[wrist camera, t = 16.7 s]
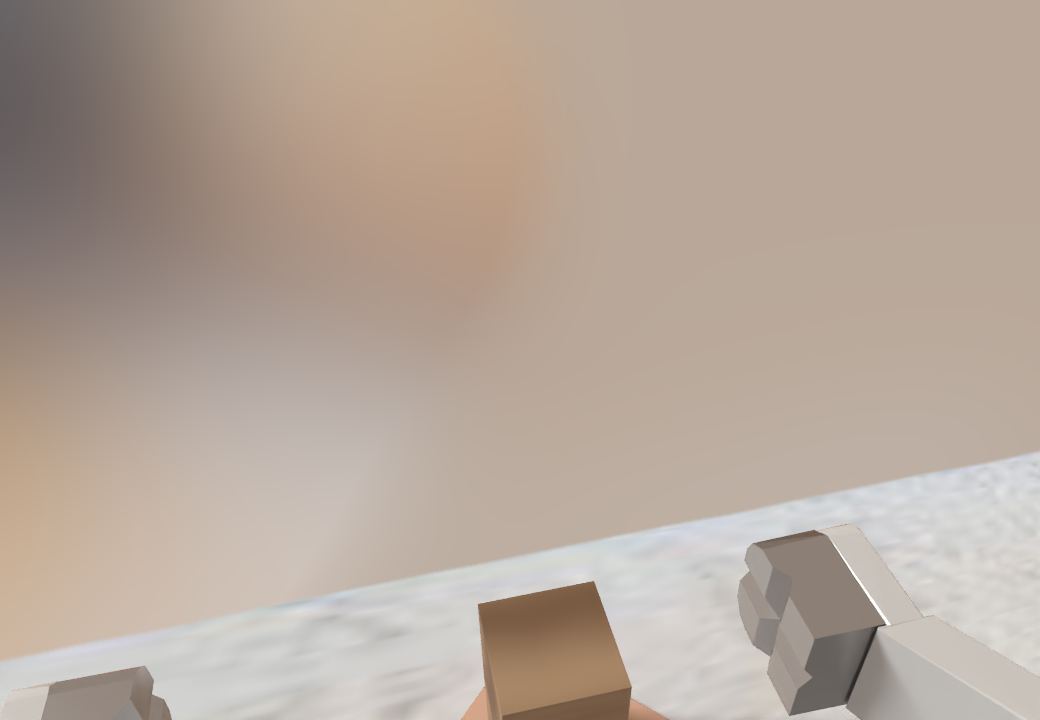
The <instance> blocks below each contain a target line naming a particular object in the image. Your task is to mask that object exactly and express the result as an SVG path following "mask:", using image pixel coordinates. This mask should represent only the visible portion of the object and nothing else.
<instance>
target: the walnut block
mask: <svg viewBox="0 0 1040 720" xmlns="http://www.w3.org/2000/svg"><path fill="white" fill-rule="evenodd" d="M478 610H479V622H480V633H481V645H482V656H483V667H484V679H485V690H486V702H487V713H488V720H628V716H629V707H630V698H631V689H632V687H631V684H630V681H629V678H628V675H627V673H626V670H625V667H624V664H623V661H622V659H621V656H620V653H619V650H618V647H617V644H616V642H615V639H614V636H613V633H612V630H611V628H610V625H609V622H608V619H607V616H606V614H605V611H604V608H603V605H602V602H601V600H600V597H599V594H598V591H597V588H596V585H595V583H594V581H592V582H587V583H582V584H577V585H572V586H567V587H562V588H557V589H552V590H547V591H542V592H537V593H532V594H527V595H522V596H517V597H512V598H507V599H502V600H496V601H491V602H486V603H481V604H478Z"/></svg>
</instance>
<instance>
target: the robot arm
mask: <svg viewBox="0 0 1040 720" xmlns="http://www.w3.org/2000/svg"><path fill="white" fill-rule="evenodd" d="M745 562H746V564H747V566H748V568H749V570H750V571H749V572H748V573H747V574H746V575H745V576H744V577H743V578H742V579H741V580H740V584H739V590H738V603H739V610H740V615H741V618H742V621H743V624H744V627H745V630H746V632H747V634H748V636H749V638H750V640H751V642H752V644H753V645H754V646H755V647H757V648H758V649H760V650H761V651H763V652H764V653H766V654H767V655H769V656H770V660H769V666H768V671H767V674H768V676H769V678H770V680H771V682H772V684H773V686H774V688H775V689H776V691H777V693H778V695H779V697H780V699H781V701H782V703H783V705H784V707H785V709H786V711H787V713H788V715H789V716H791V715H796V714H801V713H806V712H811V711H815V710H820V709H825V708H830V707H835V706H840V705H845V704H847V706H846V708H847V709H848V710H849V711H851V712H852V713H853V714H854V715H856V716H857V717H858V718H859V719H861V720H1040V677H1038V676H1037V675H1035V674H1033V673H1031V672H1030V671H1028V670H1026V669H1025V668H1023V667H1021V666H1019V665H1018V664H1016V663H1014V662H1013V661H1011V660H1009V659H1007V658H1006V657H1004V656H1002V655H1000V654H999V653H997V652H995V651H994V650H992V649H990V648H988V647H987V646H985V645H983V644H982V643H980V642H978V641H976V640H975V639H973V638H971V637H970V636H968V635H966V634H964V633H963V632H961V631H959V630H957V629H956V628H954V627H952V626H951V625H949V624H947V623H945V622H944V621H942V620H940V619H939V618H937V617H935V616H933V615H932V616H926V617H923V616H922V614H921V613H920V612H919V610H918V609H917V608H916V606H915V605H914V603H913V602H912V601H911V599H910V598H909V597H908V595H907V594H906V592H905V591H904V590H903V588H902V587H901V585H900V584H899V583H898V581H897V580H896V579H895V577H894V576H893V574H892V573H891V572H890V570H889V569H888V567H887V566H886V565H885V563H884V562H883V561H882V559H881V558H880V556H879V555H878V554H877V552H876V551H875V550H874V548H873V547H872V545H871V544H870V543H869V541H868V540H867V538H866V537H865V536H864V534H863V533H862V532H861V530H860V529H859V528H857V527H856V526H854V525H853V524H845V525H840V526H836V527H831V528H827V529H822V530H818V531H815V530H812V531H807V532H803V533H798V534H794V535H789V536H784V537H780V538H775V539H771V540H766V541H761V542H757V543H753V544H752V545H751V546H750V547H749V548H748V549H747V552H746V556H745ZM153 681H154V680H153V678H152V676H151V675H150V673H149V672H148V670H147V668H146V667H145V666H141V667H136V668H130V669H125V670H120V671H114V672H109V673H103V674H98V675H93V676H87V677H82V678H76V679H71V680H66V681H60V682H53V683H48V684H43V685H38V686H33V687H28V688H23V689H18V690H13V691H12V692H11V693H10V695H9V696H8V698H7V699H6V701H5V702H4V704H3V705H2V708H1V711H0V720H172V719H171V715H170V711H169V709H168V707H167V705H166V703H165V701H164V699H162V698H159V697H157V696H154V695H152V689H153Z"/></svg>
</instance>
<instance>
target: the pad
mask: <svg viewBox="0 0 1040 720" xmlns="http://www.w3.org/2000/svg"><path fill="white" fill-rule="evenodd" d="M461 720H488V713H487V702H486V690H485V687H484V688H483V689H482V691H481V692H480V694H479V695H478V696H477V698H476V699H475V701H474V702H473V703H472V705H471V706H470V708H469V709H468V710H467V712H466V713H465V714H464V716H463V717H462V719H461ZM628 720H669V719H667V718H665V717H663V716H662V715H660V714H658V713H656V712H654V711H652V710H651V709H649V708H647V707H645V706H643V705H641V704H640V703H638V702H636V701H634V700H632V699H630V707H629V716H628Z"/></svg>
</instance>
